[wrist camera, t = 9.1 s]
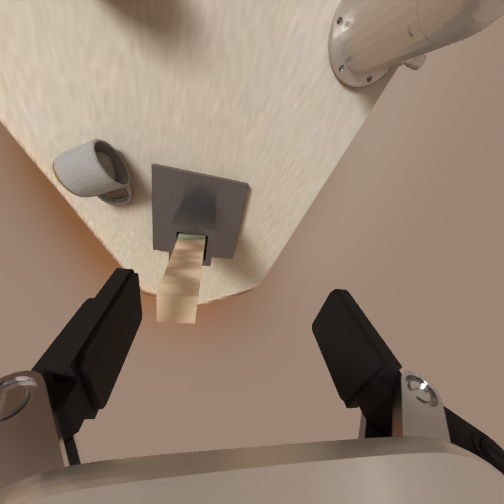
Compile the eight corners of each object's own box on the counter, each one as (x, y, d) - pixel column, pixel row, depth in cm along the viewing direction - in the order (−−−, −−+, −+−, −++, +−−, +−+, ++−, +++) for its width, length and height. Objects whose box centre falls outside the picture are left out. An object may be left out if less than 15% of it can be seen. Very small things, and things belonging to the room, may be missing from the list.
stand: (247, 183, 42) (257, 203, 31) (231, 255, 51) (235, 292, 39) (153, 163, 38) (125, 179, 26) (154, 246, 46) (133, 284, 35)
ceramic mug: (67, 154, 35) (33, 161, 29) (109, 137, 35) (85, 140, 28) (109, 208, 41) (89, 224, 35) (146, 194, 41) (132, 207, 34)
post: (207, 224, 37) (198, 297, 21) (204, 243, 39) (195, 323, 23) (183, 220, 36) (156, 294, 20) (182, 240, 38) (156, 322, 22)
